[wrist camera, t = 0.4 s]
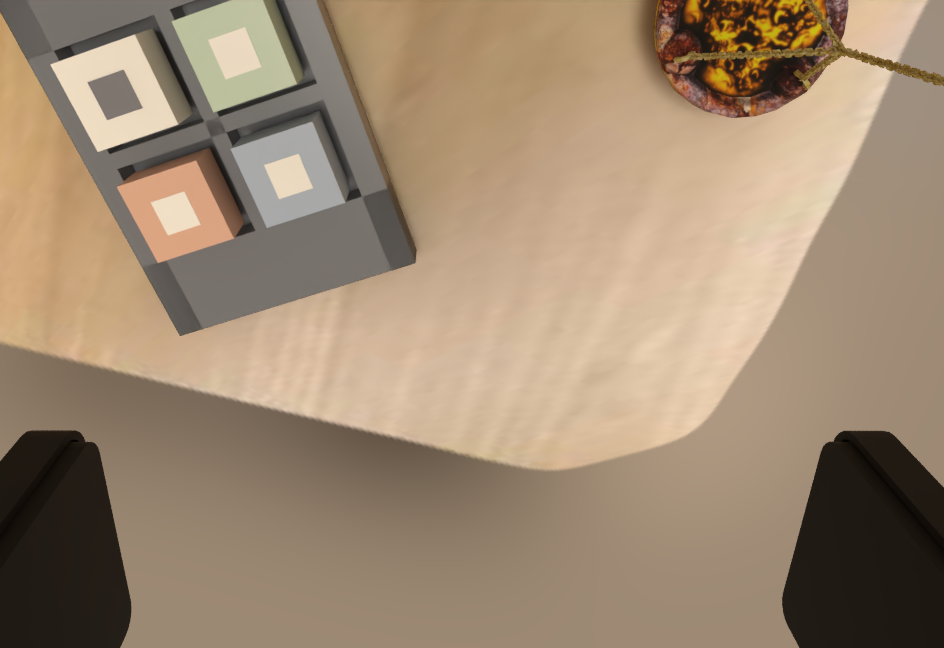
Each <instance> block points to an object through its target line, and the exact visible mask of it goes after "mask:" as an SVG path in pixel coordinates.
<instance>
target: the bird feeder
mask: <svg viewBox="0 0 944 648" xmlns="http://www.w3.org/2000/svg"><path fill="white" fill-rule="evenodd" d="M847 13H848V0H659V1H658V4H657V9H656V16H655V24H654V35H655V49H656V52H657V55H658V59H659V62H660V65H661V69H662V71H663V72H664V74H665V75H666V77H667V79H668V80H669V82H670V83H671V85H672V86H673V88H674V90H675V91H677V92H678V93H679V94H680V95H682V96H683V97H684V98H685V99H687V100H688V101H689V102H690V103H692V104H693V105H695V106H697V107H698V108H700V109H702V110H704V111H707V112H711V113H715V114H719V115H723V116H727V117H731V118H737V117H751V116H758V115H761V114H764V113H768V112H771V111H774V110H777V109H778V108H780V107H782V106H783V105H785V104H787V103H789V102H790V101H792V100H794V99H796V98H797V97H799V96H801V95H802V94H804V93H805V92H807V90H808V89H810V87H811V86H812V85H813V84H814V82H815V81H816V80H817V79H818V78H819V76H820V75H821V74H822V72H823V71H824V69H825V68H826V67H827V66H828V65H830V63H832V62H834V61H835V60H837V59H838V58H840V57H841V56H844V57H845V56H846V55H847V56H848V57H850V58H853V57H854V58H855V59H856V60H861V61H862V62H865V63H868V61H869V62H870V64H871V65H874V66H875V65H878V66H879V67H882V68H884V67H886V69H887V70H889V71H893V70H895V71H896V72H898V73H900V74H901V73H903V74H904V75H906V76H908V77H910V76H911V75H912V77H914V78H918V79H923V81H925V82H933V84H934V85H941V84H942V85H943V86H944V77H941V75H939V74H936V73H934V72H933V74H930V73H928V72H926V71H920V70H919V69H916V68H910V66H909V65H903V66H901V64H899V63H898V62H896V63H893V62H892V61H891V60H888V59H887V60H884V59H881V58H879V57H877V58H875V56H872V55H868V54H867V53H863V52H861V54H860V53H859V52H858V50H857V49H856V50H855V51H852V49H848V48H847V49H846V48H845V47H844V45H843V43H842V42H841V39H842V37H843V35H844V30H845V24H846V19H847ZM906 70H907V71H906ZM908 72H909V73H908Z"/></svg>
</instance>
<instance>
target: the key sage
mask: <svg viewBox="0 0 944 648" xmlns="http://www.w3.org/2000/svg"><path fill="white" fill-rule="evenodd" d="M171 22H172V24H173V26H174V28H175V30H176V32H177V35H178V37H179V39H180V41H181V43H182V45H183V47H184V50H185V52H186V54H187V56H188V58H189V60H190V63H191V65H192V67H193V69H194V71H195V73H196V76H197V78H198V80H199V82H200V84H201V86H202V89H203V91H204V93H205V95H206V97H207V99H208V102H209V104H210V106H211V108H212V110H213V112H217V111H220V110H223V109H226V108H229V107H232V106H234V105H237V104H240V103H243V102H246V101H249V100H252V99H255V98H258V97H261V96H264V95H267V94H270V93H273V92H276V91H278V90H281V89H284V88H287V87H290V86H293V85H296V84H298V83H299V81H300V80H301V79H302V78H303V77H304V76H305V73H304V71H303V68H302V66H301V63H300V61H299V58H298V56H297V53H296V51H295V48H294V46H293V43H292V41H291V38H290V36H289V33H288V31H287V28H286V26H285V23H284V21H283V18H282V16H281V13H280V11H279V8H278V6H277V3H276V1H275V0H230V1H227V2H225V3H222V4H219V5H216V6H213V7H210V8H208V9H205V10H202V11H199V12H196V13H194V14H191V15H188V16H185V17H182V18H180V19H177V20H174V21H171Z"/></svg>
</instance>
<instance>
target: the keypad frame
mask: <svg viewBox="0 0 944 648" xmlns="http://www.w3.org/2000/svg"><path fill="white" fill-rule="evenodd" d="M227 1H230V0H0V12H1V14H2V16H3V17H4V19H5V21H6V23H7V25H8V26H9V28H10V30H11V32H12V34H13V36H14V37H15V39H16V41H17V43H18V45H19V46H20V48H21V50H22V52H23V54H24V55H25V57H26V59H27V61H28V63H29V64H30V66H31V68H32V70H33V72H34V73H35V75H36V77H37V79H38V81H39V82H40V84H41V86H42V88H43V90H44V91H45V93H46V95H47V97H48V99H49V100H50V102H51V104H52V106H53V108H54V109H55V111H56V113H57V115H58V117H59V119H60V120H61V122H62V124H63V126H64V128H65V129H66V131H67V133H68V135H69V137H70V138H71V140H72V142H73V144H74V146H75V147H76V149H77V151H78V153H79V155H80V156H81V158H82V160H83V162H84V164H85V165H86V167H87V169H88V171H89V173H90V174H91V176H92V178H93V180H94V182H95V183H96V185H97V187H98V189H99V191H100V192H101V194H102V196H103V198H104V200H105V201H106V203H107V205H108V207H109V209H110V211H111V212H112V214H113V216H114V218H115V220H116V221H117V223H118V225H119V227H120V229H121V230H122V232H123V234H124V236H125V238H126V239H127V241H128V243H129V245H130V247H131V248H132V250H133V252H134V254H135V256H136V257H137V259H138V261H139V263H140V265H141V266H142V268H143V270H144V272H145V274H146V275H147V277H148V279H149V281H150V283H151V284H152V286H153V288H154V290H155V292H156V294H157V295H158V297H159V299H160V301H161V303H162V304H163V306H164V308H165V310H166V312H167V313H168V315H169V317H170V319H171V321H172V322H173V324H174V326H175V328H176V330H177V331H178V333H179V335H180V336H182V335H185V334H188V333H192V332H195V331H198V330H201V329H204V328H208V327H211V326H214V325H217V324H221V323H224V322H227V321H230V320H233V319H237V318H240V317H243V316H246V315H250V314H253V313H256V312H259V311H262V310H266V309H269V308H272V307H275V306H279V305H282V304H285V303H288V302H292V301H295V300H298V299H301V298H304V297H308V296H311V295H314V294H317V293H321V292H324V291H327V290H330V289H333V288H337V287H340V286H343V285H346V284H350V283H353V282H356V281H359V280H362V279H366V278H369V277H372V276H375V275H379V274H382V273H385V272H388V271H391V270H395V269H398V268H401V267H404V266H408V265H411V264H414V263H415V262H416V247H415V245H414V242H413V239H412V237H411V234H410V231H409V229H408V226H407V223H406V221H405V218H404V215H403V213H402V210H401V207H400V205H399V202H398V199H397V197H396V194H395V191H394V189H393V186H392V183H391V181H390V178H389V175H388V173H387V170H386V167H385V165H384V162H383V159H382V156H381V154H380V151H379V148H378V146H377V143H376V140H375V138H374V135H373V132H372V130H371V127H370V124H369V122H368V119H367V116H366V114H365V111H364V108H363V106H362V103H361V100H360V98H359V95H358V92H357V90H356V87H355V84H354V82H353V79H352V76H351V74H350V71H349V68H348V66H347V63H346V60H345V58H344V55H343V52H342V50H341V47H340V44H339V42H338V39H337V36H336V34H335V31H334V28H333V25H332V23H331V20H330V17H329V15H328V12H327V9H326V7H325V4H324V1H323V0H275V1H276V3H277V6H278V8H279V11H280V13H281V16H282V18H283V21H284V23H285V26H286V28H287V31H288V33H289V36H290V38H291V41H292V43H293V46H294V48H295V51H296V53H297V56H298V58H299V61H300V63H301V66H302V68H303V71H304V73H305V76H304V77H303V78H302V79H301V80H300V81H299V83H298V84H296V85H293V86H290V87H287V88H284V89H281V90H278V91H276V92H273V93H270V94H267V95H264V96H261V97H258V98H255V99H252V100H249V101H246V102H243V103H240V104H237V105H234V106H232V107H229V108H226V109H223V110H220V111H217V112H213V110H212V108H211V106H210V104H209V102H208V99H207V97H206V95H205V93H204V91H203V89H202V86H201V84H200V82H199V80H198V78H197V76H196V73H195V71H194V69H193V67H192V65H191V63H190V60H189V58H188V56H187V54H186V52H185V50H184V47H183V45H182V43H181V41H180V39H179V37H178V35H177V32H176V30H175V28H174V26H173V24H172V22H171V21H174V20H177V19H180V18H182V17H185V16H188V15H191V14H194V13H196V12H199V11H202V10H205V9H208V8H210V7H213V6H216V5H219V4H222V3H225V2H227ZM152 28H153V30H154V32H155V34H156V36H157V38H158V40H159V42H160V44H161V46H162V49H163V51H164V53H165V55H166V57H167V59H168V61H169V63H170V65H171V68H172V70H173V72H174V74H175V76H176V78H177V80H178V82H179V84H180V86H181V89H182V91H183V93H184V95H185V97H186V99H187V101H188V103H189V105H190V108H191V110H192V112H193V114H192V115H190V116H189V117H188V118H186V119H185V120H184V121H182V122H181V123H180V124H179V125H176V126H173V127H170V128H167V129H164V130H161V131H158V132H155V133H152V134H149V135H146V136H143V137H140V138H138V139H135V140H132V141H129V142H126V143H123V144H120V145H117V146H114V147H111V148H108V149H105V150H102V151H99V152H97V150H96V148H95V146H94V144H93V142H92V141H91V139H90V137H89V135H88V133H87V131H86V130H85V128H84V126H83V124H82V122H81V120H80V118H79V117H78V115H77V113H76V111H75V109H74V107H73V106H72V104H71V102H70V100H69V98H68V96H67V95H66V93H65V91H64V89H63V87H62V85H61V83H60V82H59V80H58V78H57V76H56V74H55V72H54V71H53V69H52V67H51V65H50V64H53V63H56V62H59V61H61V60H64V59H67V58H70V57H73V56H76V55H78V54H81V53H84V52H87V51H90V50H92V49H95V48H98V47H101V46H104V45H106V44H109V43H112V42H115V41H118V40H121V39H123V38H126V37H129V36H132V35H135V34H137V33H140V32H143V31H146V30H149V29H152ZM317 111H320V113H321V116H322V118H323V121H324V123H325V126H326V128H327V131H328V133H329V136H330V138H331V141H332V143H333V146H334V148H335V151H336V153H337V156H338V158H339V161H340V163H341V166H342V168H343V171H344V173H345V176H346V178H347V181H348V183H349V186H350V190H349V193H348V196H347V199H346V202H345V203H343V204H340V205H337V206H334V207H331V208H328V209H324V210H321V211H318V212H315V213H312V214H309V215H306V216H303V217H300V218H296V219H293V220H290V221H287V222H284V223H281V224H278V225H275V226H272V227H268V228H267V227H266V225H265V223H264V220H263V218H262V216H261V214H260V212H259V210H258V208H257V205H256V203H255V201H254V199H253V197H252V195H251V192H250V190H249V188H248V186H247V184H246V182H245V179H244V177H243V175H242V173H241V171H240V169H239V166H238V164H237V162H236V160H235V158H234V156H233V153H232V151H231V148H232V147H233V146H234V145H235V144H236V142H237V141H238V140H239V139H240V138H241V137H242V136H245V135H248V134H251V133H254V132H257V131H260V130H263V129H266V128H269V127H272V126H275V125H278V124H281V123H284V122H287V121H290V120H293V119H296V118H299V117H302V116H305V115H308V114H311V113H314V112H317ZM206 148H210V150H211V152H212V154H213V156H214V158H215V160H216V162H217V164H218V167H219V169H220V171H221V173H222V175H223V177H224V179H225V181H226V183H227V186H228V188H229V190H230V192H231V194H232V196H233V198H234V200H235V202H236V204H237V207H238V209H239V211H240V213H241V215H242V217H243V219H244V221H245V222H244V224H243V226H242V227H241V229H240V230H239V232H238V233H237V235H236V236H235V238H234V239H231V240H228V241H225V242H222V243H219V244H216V245H212V246H209V247H206V248H203V249H200V250H197V251H194V252H191V253H188V254H184V255H181V256H178V257H175V258H172V259H169V260H166V261H163V262H160V263H158V262H157V260H156V259H155V257H154V255H153V253H152V251H151V249H150V247H149V246H148V244H147V242H146V240H145V238H144V236H143V235H142V233H141V231H140V229H139V227H138V225H137V224H136V222H135V220H134V218H133V216H132V214H131V212H130V211H129V209H128V207H127V205H126V203H125V201H124V200H123V198H122V196H121V194H120V192H119V190H118V189H117V186H118V185H120V184H121V183H122V182H123V181H125V180H126V179H127V178H128V177H130V176H131V175H132V174H133V173H135V172H138V171H141V170H144V169H147V168H150V167H153V166H156V165H159V164H162V163H165V162H168V161H171V160H174V159H177V158H180V157H183V156H186V155H188V154H191V153H194V152H197V151H200V150H203V149H206Z"/></svg>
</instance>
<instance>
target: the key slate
mask: <svg viewBox="0 0 944 648" xmlns="http://www.w3.org/2000/svg"><path fill="white" fill-rule="evenodd" d="M231 151H232V153H233V156H234V158H235V160H236V162H237V164H238V166H239V169H240V171H241V173H242V175H243V177H244V179H245V182H246V184H247V186H248V188H249V190H250V192H251V195H252V197H253V199H254V201H255V203H256V205H257V208H258V210H259V212H260V214H261V216H262V218H263V220H264V223H265V225H266V227H267V228H268V227H272V226H275V225H278V224H281V223H284V222H287V221H290V220H293V219H296V218H300V217H303V216H306V215H309V214H312V213H315V212H318V211H321V210H324V209H328V208H331V207H334V206H337V205H340V204H343V203H345V202H346V199H347V196H348V193H349V190H350V186H349V183H348V181H347V178H346V176H345V173H344V171H343V168H342V166H341V163H340V161H339V158H338V156H337V153H336V151H335V148H334V146H333V143H332V141H331V138H330V136H329V133H328V131H327V128H326V126H325V123H324V121H323V118H322V116H321V113H320V111H317V112H314V113H311V114H308V115H305V116H302V117H299V118H296V119H293V120H290V121H287V122H284V123H281V124H278V125H275V126H272V127H269V128H266V129H263V130H260V131H257V132H254V133H251V134H248V135H245V136H242V137H241V138H240V139H239V140H238V141H237V142H236V144H235V145H234V146H233V147H232V148H231Z"/></svg>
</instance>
